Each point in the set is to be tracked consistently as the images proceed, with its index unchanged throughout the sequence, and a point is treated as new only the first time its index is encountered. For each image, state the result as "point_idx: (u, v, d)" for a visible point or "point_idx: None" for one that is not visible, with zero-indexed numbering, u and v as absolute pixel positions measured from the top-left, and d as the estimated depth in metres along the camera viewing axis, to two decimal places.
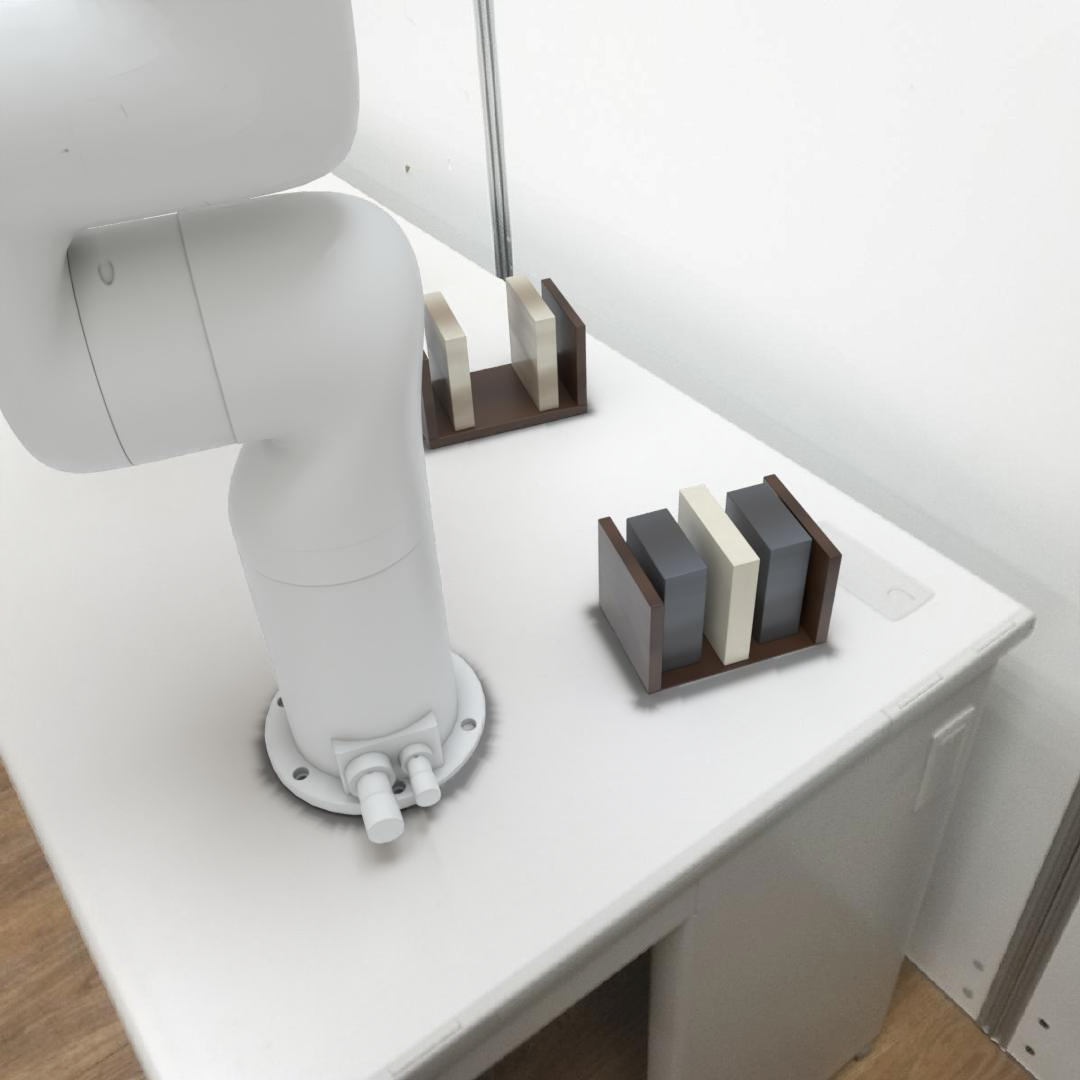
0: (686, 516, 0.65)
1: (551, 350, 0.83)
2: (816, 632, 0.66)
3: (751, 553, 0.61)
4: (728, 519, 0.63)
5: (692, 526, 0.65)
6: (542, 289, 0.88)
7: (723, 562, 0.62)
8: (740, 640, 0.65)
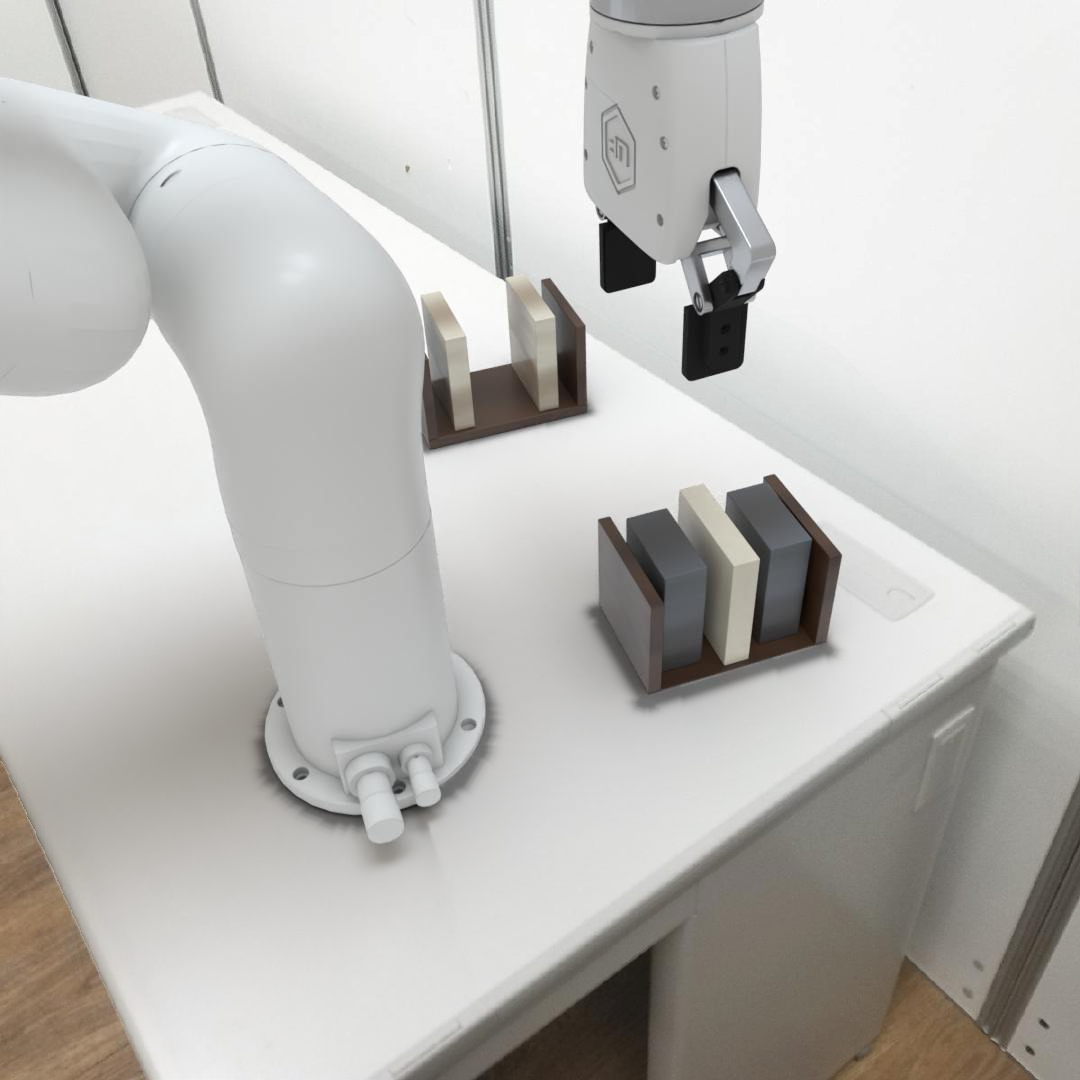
0: (686, 516, 0.65)
1: (551, 350, 0.83)
2: (816, 632, 0.66)
3: (751, 553, 0.61)
4: (728, 519, 0.63)
5: (692, 526, 0.65)
6: (542, 289, 0.88)
7: (723, 562, 0.62)
8: (740, 640, 0.65)
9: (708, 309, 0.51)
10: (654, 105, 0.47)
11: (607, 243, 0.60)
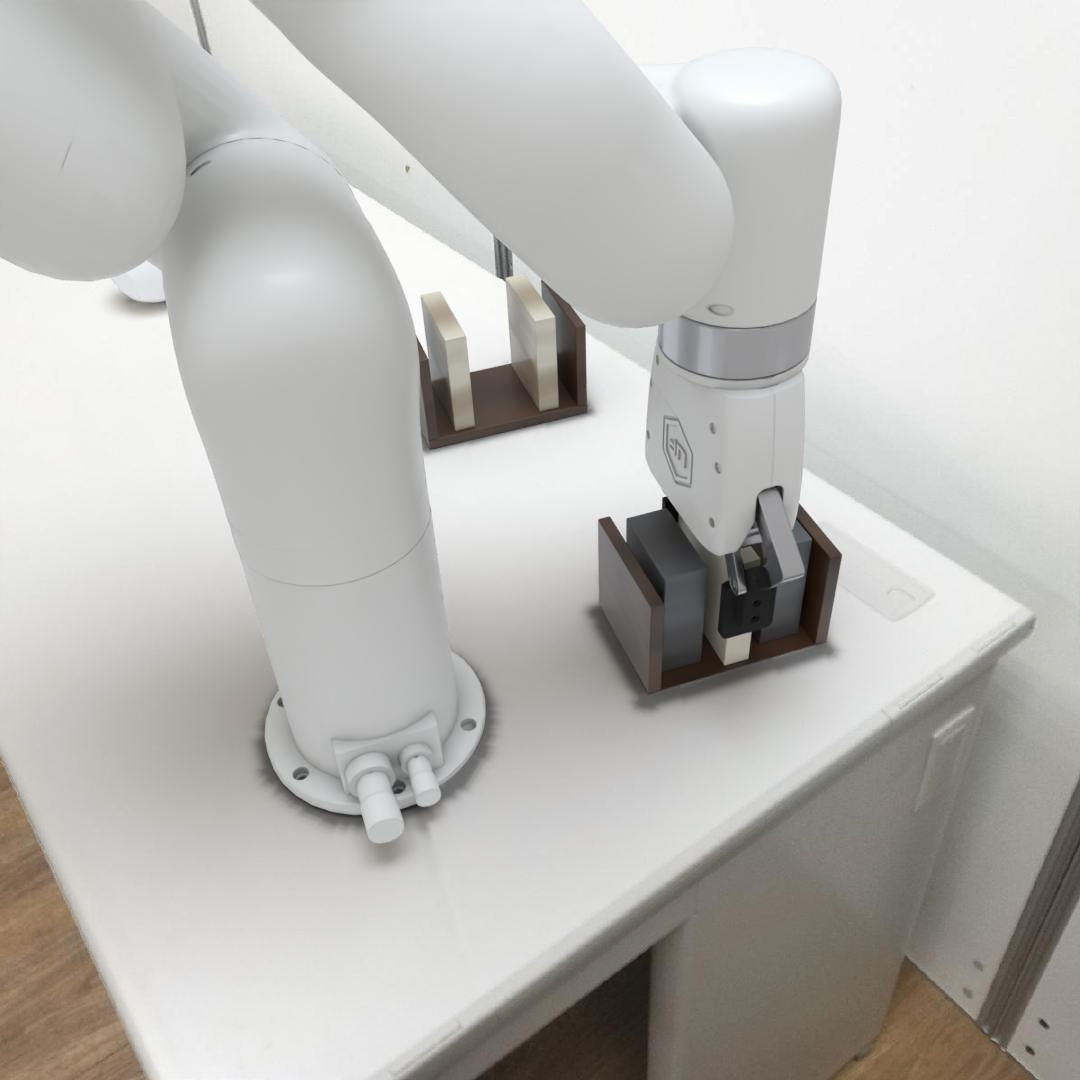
0: None
1: (551, 350, 0.83)
2: (816, 632, 0.66)
3: (751, 553, 0.61)
4: None
5: None
6: (542, 289, 0.88)
7: (723, 562, 0.62)
8: (740, 640, 0.65)
9: (742, 592, 0.59)
10: (711, 437, 0.54)
11: None
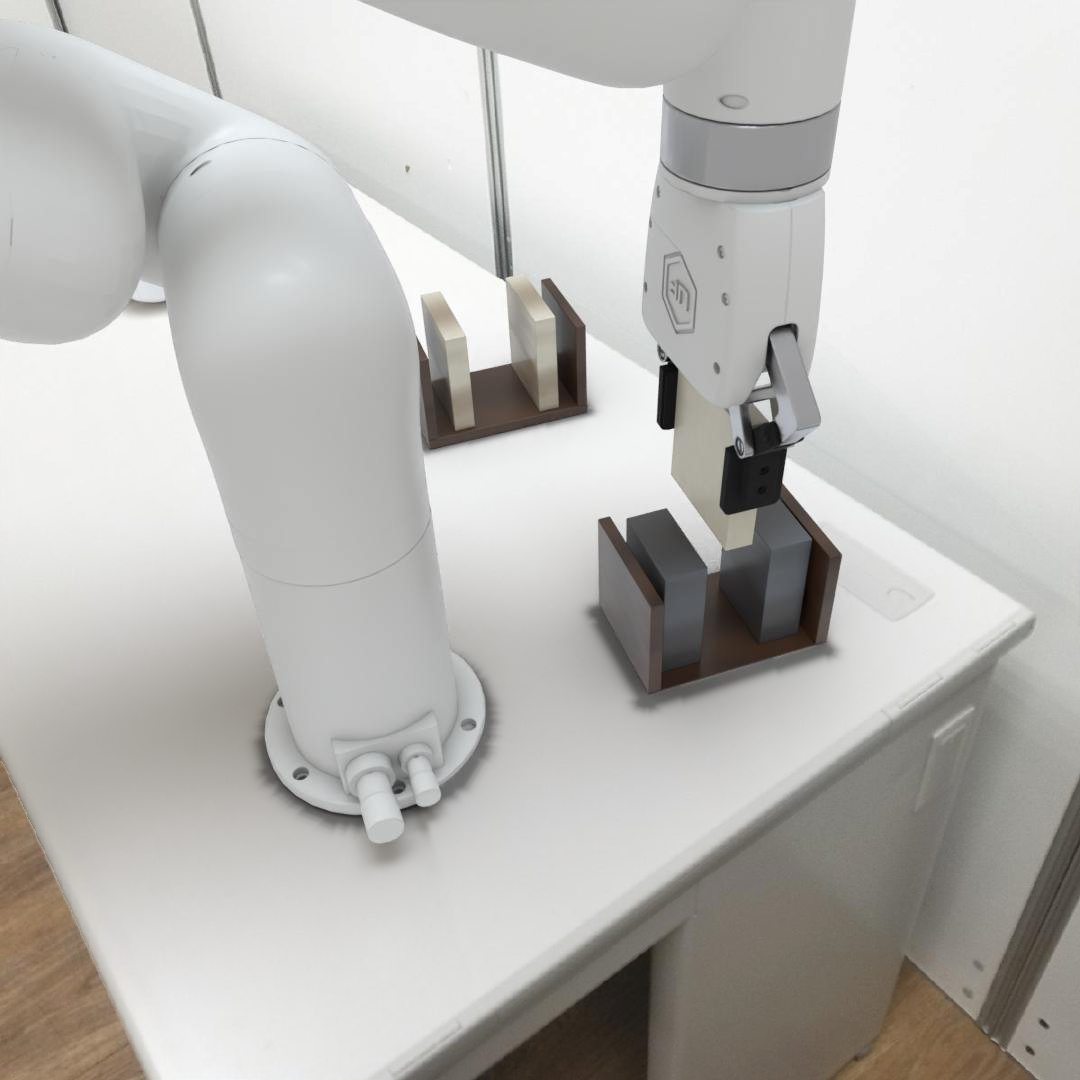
0: (686, 385, 0.59)
1: (551, 350, 0.83)
2: (816, 632, 0.66)
3: (759, 415, 0.55)
4: None
5: (693, 394, 0.59)
6: (542, 289, 0.88)
7: (727, 427, 0.56)
8: (744, 521, 0.58)
9: (749, 454, 0.53)
10: (718, 263, 0.48)
11: (666, 385, 0.60)
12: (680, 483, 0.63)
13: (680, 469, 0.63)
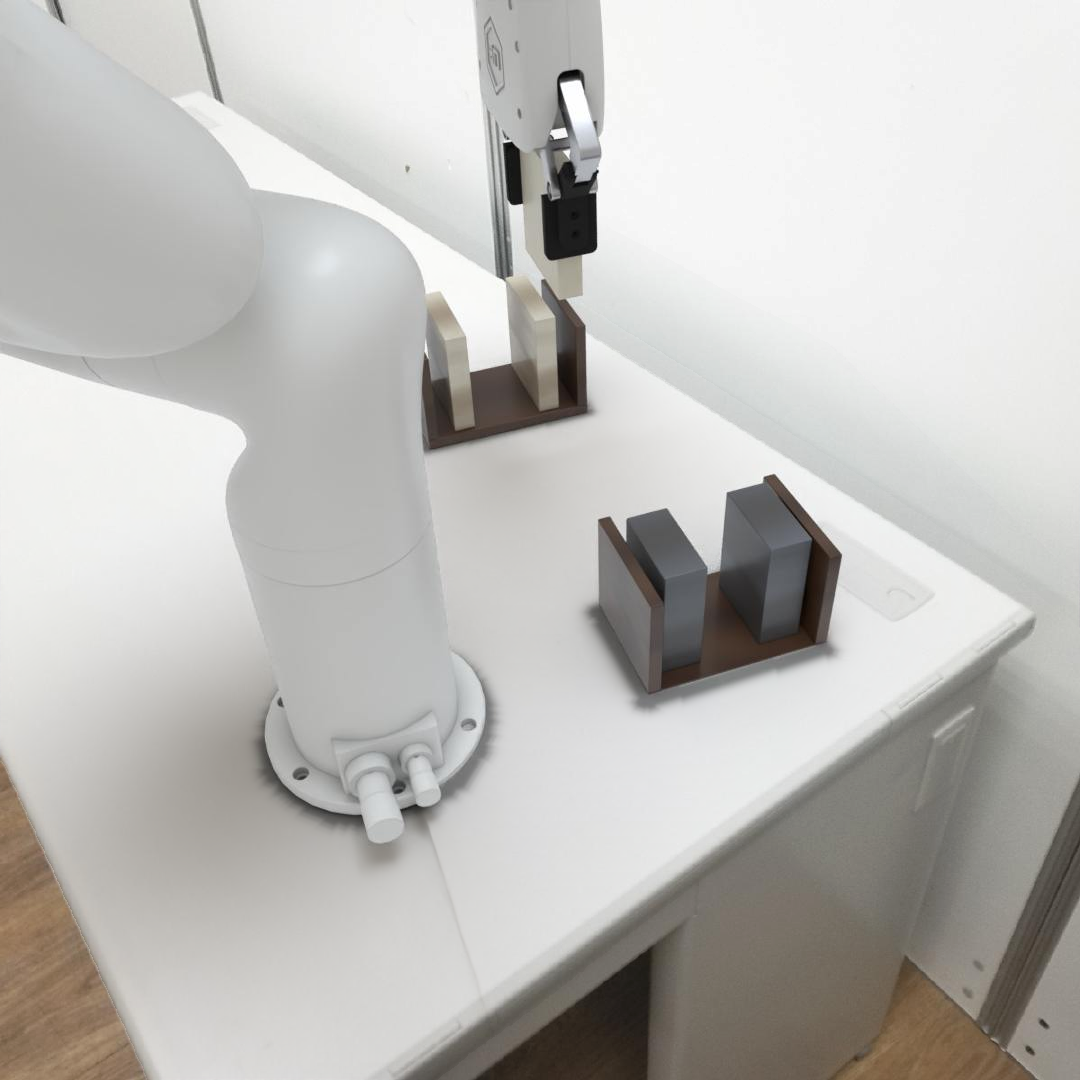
0: (524, 156, 0.69)
1: (551, 350, 0.83)
2: (816, 632, 0.66)
3: None
4: None
5: (528, 163, 0.68)
6: (542, 289, 0.88)
7: None
8: (571, 270, 0.68)
9: (556, 195, 0.63)
10: (510, 15, 0.58)
11: (509, 160, 0.70)
12: (530, 253, 0.73)
13: (529, 240, 0.72)
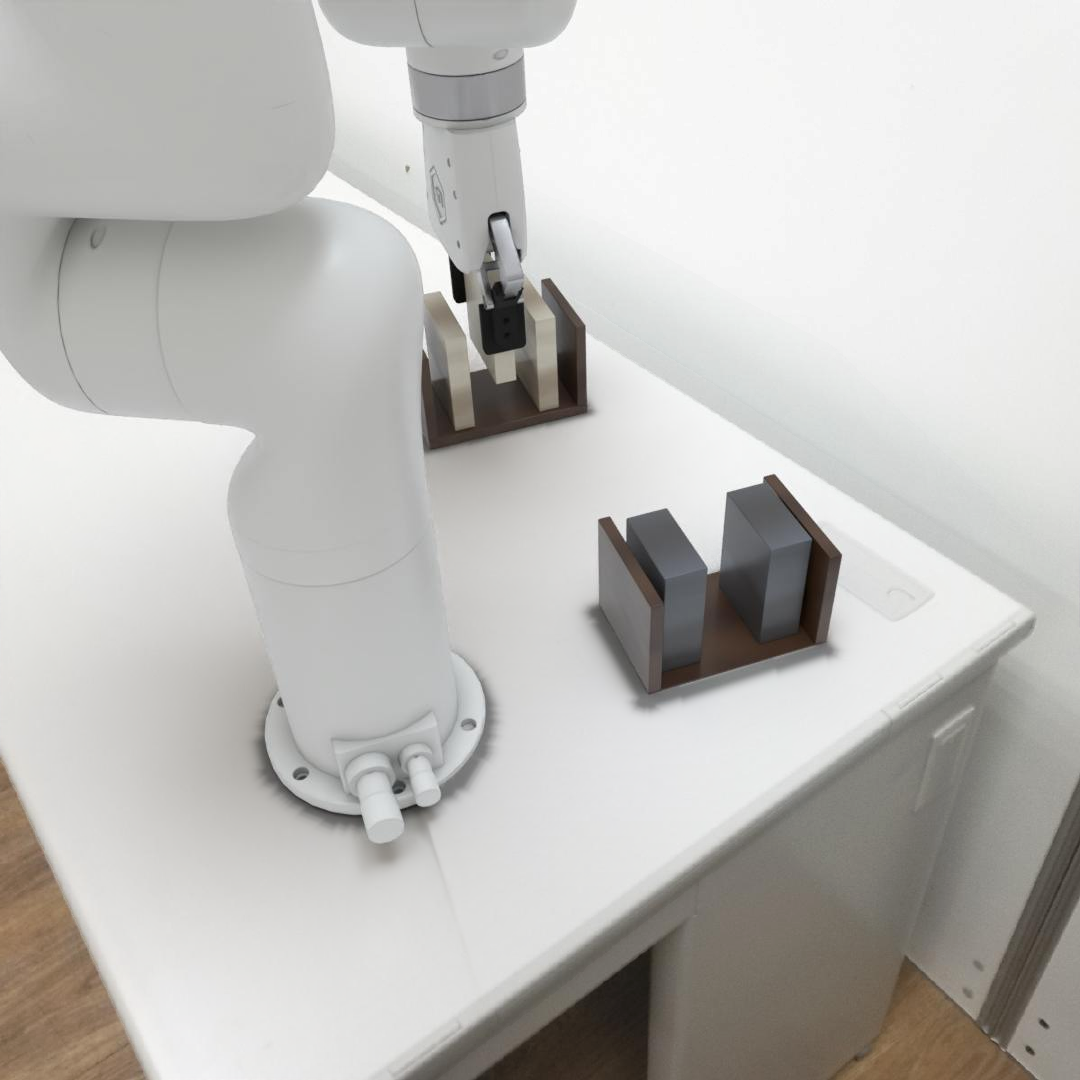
0: None
1: (551, 350, 0.83)
2: (816, 632, 0.66)
3: None
4: None
5: None
6: (542, 289, 0.88)
7: None
8: (506, 361, 0.83)
9: (490, 306, 0.77)
10: (448, 170, 0.72)
11: (454, 268, 0.84)
12: (474, 342, 0.88)
13: (472, 331, 0.87)
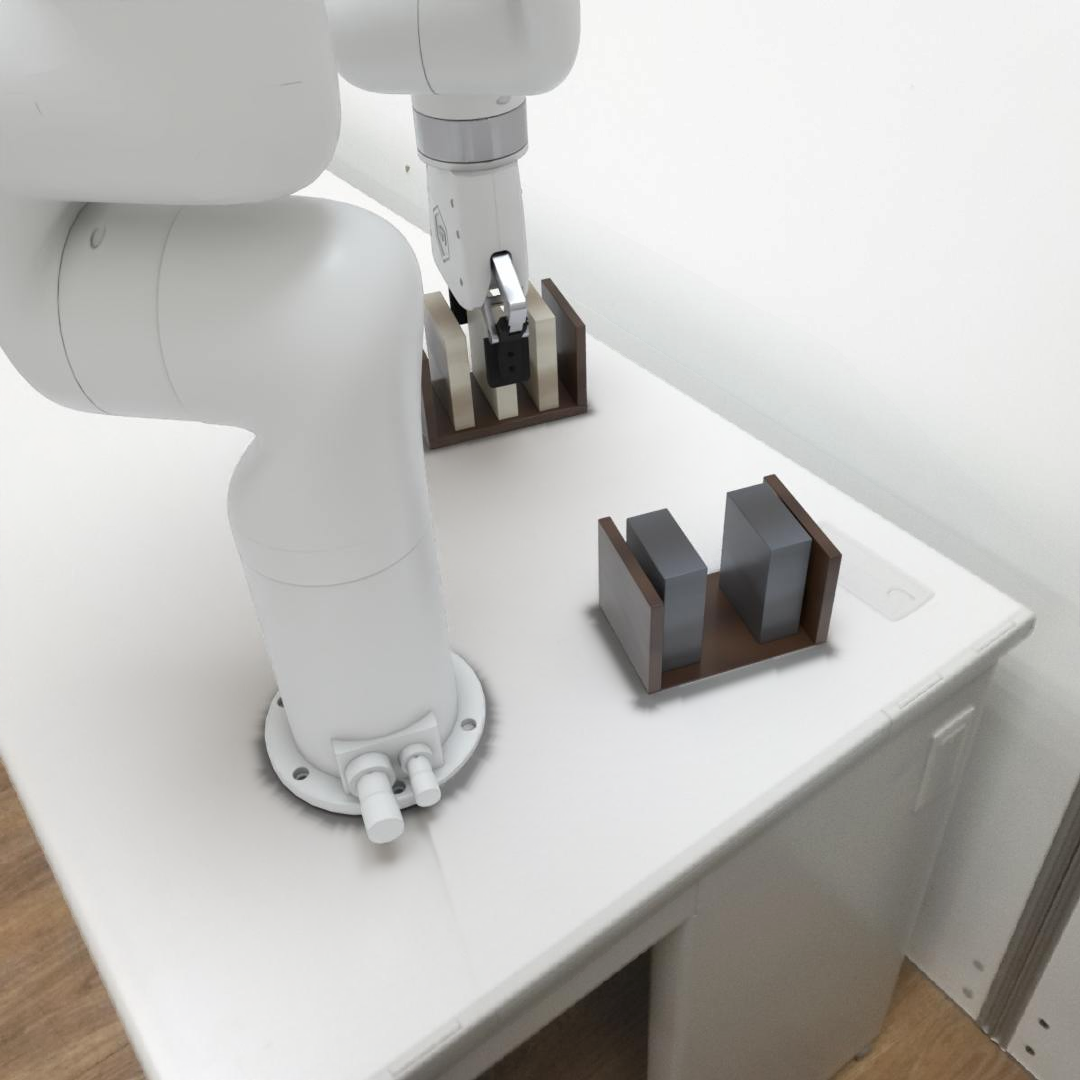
0: None
1: (551, 350, 0.83)
2: (816, 632, 0.66)
3: None
4: None
5: (472, 311, 0.85)
6: (542, 289, 0.88)
7: None
8: (508, 398, 0.85)
9: (495, 341, 0.78)
10: (452, 210, 0.74)
11: None
12: (476, 378, 0.90)
13: (475, 367, 0.89)
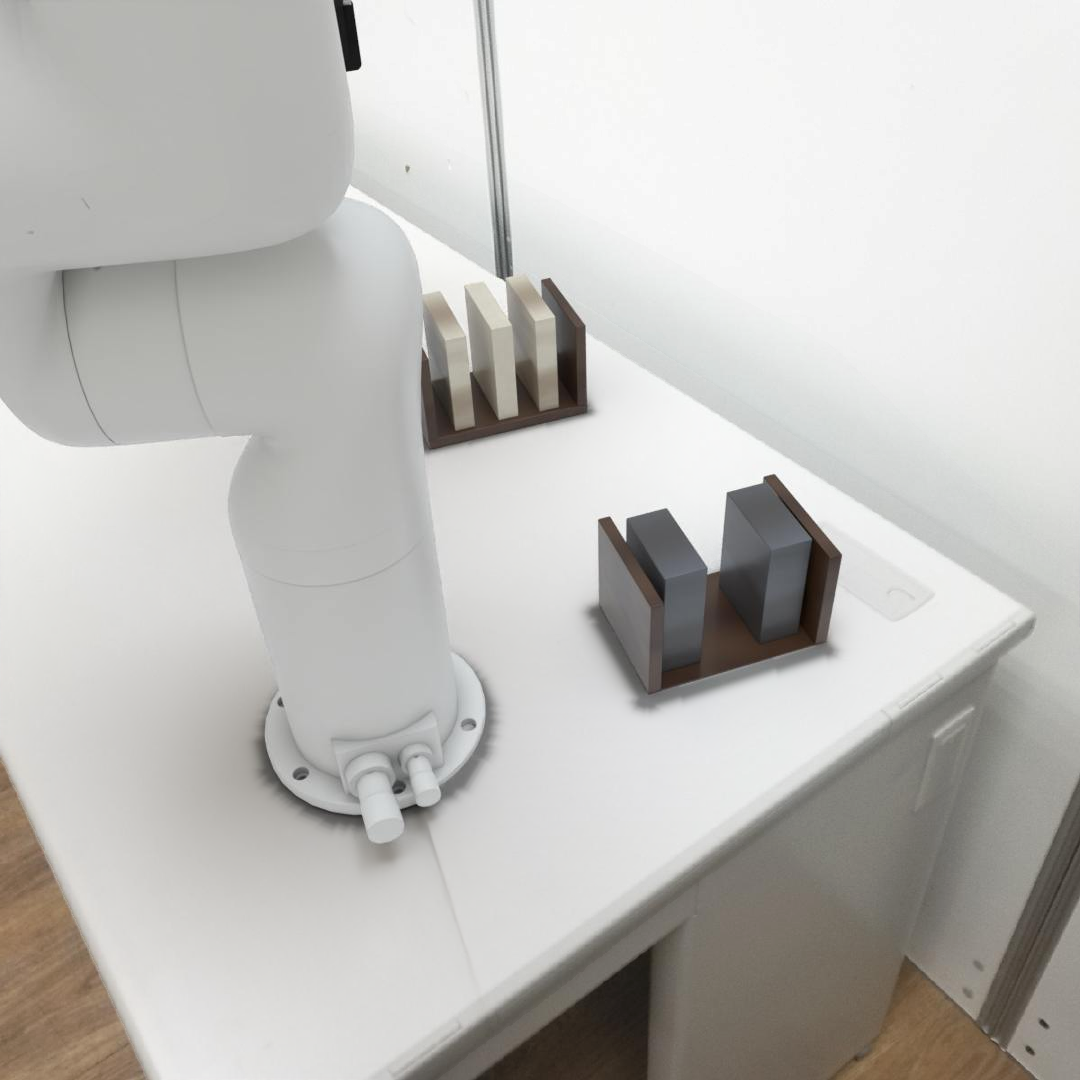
0: (469, 305, 0.85)
1: (551, 350, 0.83)
2: (816, 632, 0.66)
3: (506, 321, 0.81)
4: (495, 302, 0.83)
5: (472, 311, 0.85)
6: (542, 289, 0.88)
7: (487, 330, 0.82)
8: (508, 398, 0.85)
9: None
10: None
11: None
12: (476, 378, 0.90)
13: (475, 367, 0.89)
